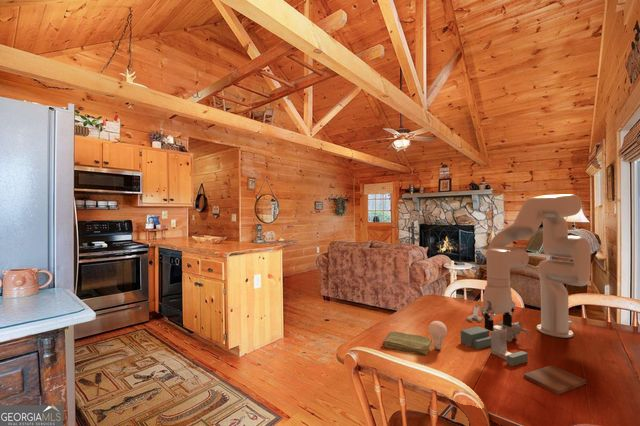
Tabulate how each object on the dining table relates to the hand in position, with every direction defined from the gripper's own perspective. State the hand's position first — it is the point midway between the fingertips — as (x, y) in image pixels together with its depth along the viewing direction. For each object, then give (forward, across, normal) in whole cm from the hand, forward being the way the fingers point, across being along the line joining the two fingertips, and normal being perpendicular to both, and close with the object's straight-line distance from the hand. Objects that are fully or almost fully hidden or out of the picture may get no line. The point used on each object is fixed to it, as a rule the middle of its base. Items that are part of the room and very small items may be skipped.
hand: (498, 327), depth 113 cm
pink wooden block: (+10, 0, +1) cm, 10 cm away
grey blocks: (+10, 0, -3) cm, 10 cm away
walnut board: (+10, 0, +19) cm, 21 cm away
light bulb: (+10, +18, -12) cm, 24 cm away
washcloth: (+11, +26, -20) cm, 35 cm away
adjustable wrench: (+10, -29, -34) cm, 45 cm away
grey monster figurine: (+10, -16, -6) cm, 20 cm away
